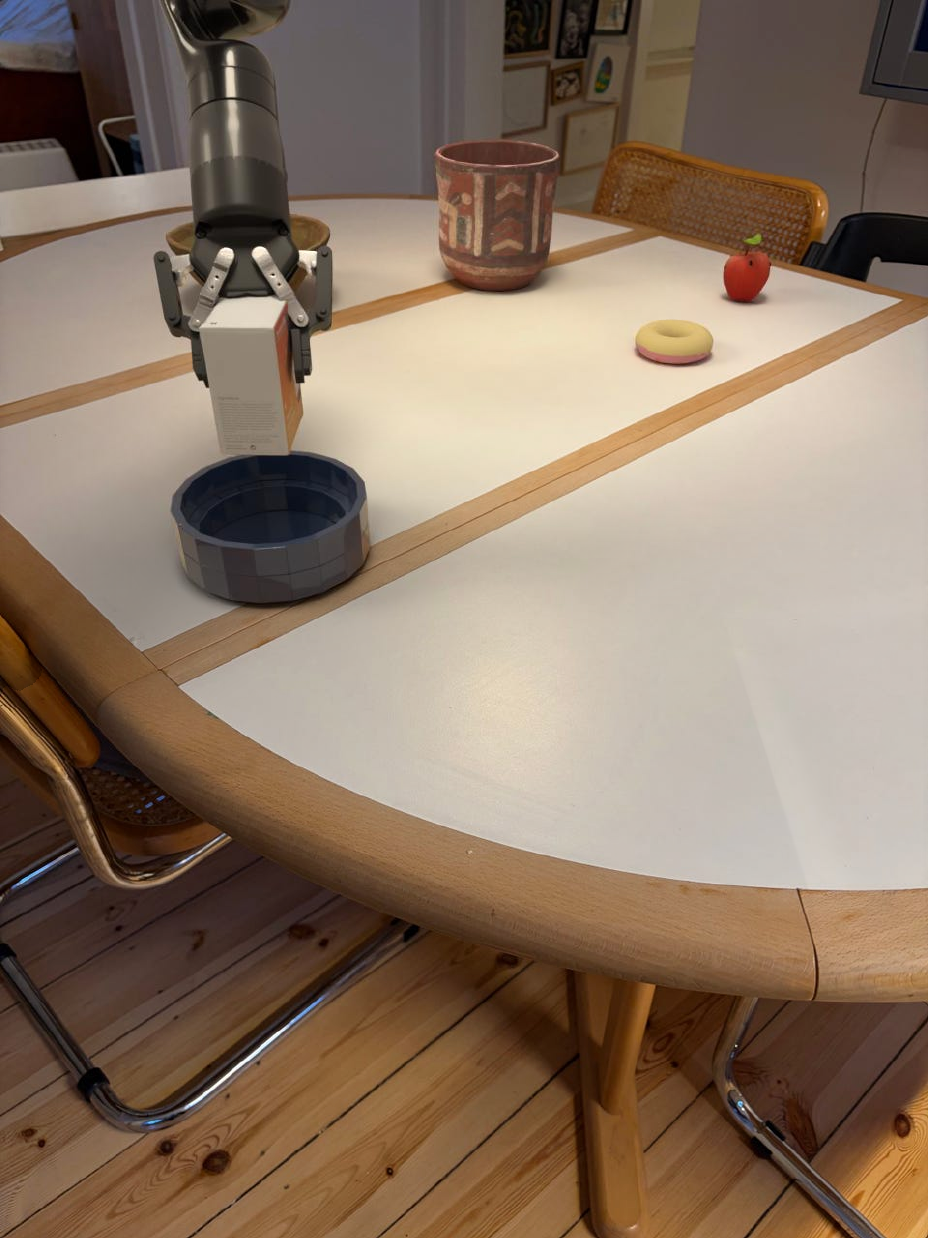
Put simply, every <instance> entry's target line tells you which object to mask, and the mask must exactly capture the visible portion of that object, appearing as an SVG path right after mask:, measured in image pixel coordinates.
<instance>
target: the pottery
mask: <svg viewBox="0 0 928 1238" xmlns="http://www.w3.org/2000/svg"><path fill="white" fill-rule="evenodd" d="M433 156H434V167H435V176H436V177H435V178H436V185H437V198H438V209H439V210H438V250H439V253H440V257H441V259H442V261H443V263H444V265H445V267H446V270H448V271H449V272H450V273H451V275H452V276H453V277H454V278H455V280H457V281H458V282H459V283H460V284H461V285H464V286H466V287H467V288H472V289H476V290H481V291H488V292H489V291H490V292H504V291H505V292H506V291H514V290H519V289H523V288H525V287H527V286H529V285H530V284H531V283H533V281H534V280H536V278H537V277H538V276H539V275H540V274H541V272H542V271H543V269H544V267H545V265H546V263H547V261H548V259H549V255H550V251H551V244H552V228H553V217H554V216H553V215H554V205H555V197H556V190H557V189H556V188H557V183H558V176H559V169H560V162H561V161H560V160H561V156H560V154H559V152H558V151H556V150H554V149H552V148H550V147H549V146H546V145H542V144H539V143H534V142H528V141H527V142H526V141H520V140H510V139H509V140H508V139H507V140H506V139H474V140H464V141H463V140H462V141H458V142H457V141H456V142H451V143H447V144H445V145H443V146H440V147H439V148H437V149H436V150H435V151H434V155H433Z"/></svg>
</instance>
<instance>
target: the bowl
mask: <svg viewBox="0 0 928 1238" xmlns="http://www.w3.org/2000/svg"><path fill="white" fill-rule="evenodd" d="M290 223H291V235H292V240H293V242H294V244H295V245H296V247H297V248H298V250H302V251H317V250H318V248H319V247H321V246H328V243H329V241H330V239H331V230H330V227H329V226H327V224H326V223H324V222H323V221H321V220H320V219H318V218H315V217H311V216H307V215H301V214H300V215H299V214H297V213H295V214H294V213H290ZM165 240H166V243H167V244H168V246H169V248H170V250H171V251H172V252H173V253H174V256H179V255H187V254H189V253H190V250H191V249H192V247H193V244H194V240H195V236H194V222H193V221H191V222H187V223H184V224H182V225H178V226H177V227H175V228H174V229H172V230H170V231H168V232H167V233H166V234H165ZM188 274H189V275H190V276H191V277H192V278H193V279H194V280H195V281H196V282H197V283H198V284H199V285H200V287H202V288H203V286H204V283H203V282H202V280H201V279H200V278H199V277H198V276H197V275H196V274H195V272H194V271H190V272H189V273H188ZM306 277H308V276H307V271H306V270H305V269H304V268H303V267H299V268H298V270H297V271H296V273H295V274H294V276H293V277H292V279H291V280H290V282H289V283H288V284H289V286H290V287H291V289H292V291H293V292H294V294H295V293H296V292H297V290H298V289H299V288H300V286H301V285H302V283H303V282H304V281H305V279H306Z"/></svg>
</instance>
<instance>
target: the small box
mask: <svg viewBox="0 0 928 1238" xmlns="http://www.w3.org/2000/svg"><path fill="white" fill-rule="evenodd" d="M291 329H293V322H292V321H291V319H290V318H289V315H288V302H287V301H280V300H279V299H278V298H277V297H276V295H271V296H263V297H255V296H244V297H239V298H220V299H219V302H218V303H217V304H216V305H215V307H214V308H213V310H212V312H211V313H210V315H209V316H208V317H207V319H206V320H205V322H204V323H203V324H202V325H201V326H200V328H199V331H200V336H201V342H202V347H203V353H204V359H205V365H206V371H207V377H208V383H209V388H208V389H209V395H210V402H211V405H212V406H211V407H212V411H213V417H214V423H215V429H216V434H217V440H218V446H219V451H220V452H219V453H220V454H221V455H222V456H238V455H289V454H290V450H291V449H292V446H293V443H294V439H295V437H296V435H297V431H298V429H299V426H300V424H301V421H302V419H303V416H304V405H303V397H302V387H301V383H299V384H296V380H295V373H294V362H293V350H292V338H291Z"/></svg>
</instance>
